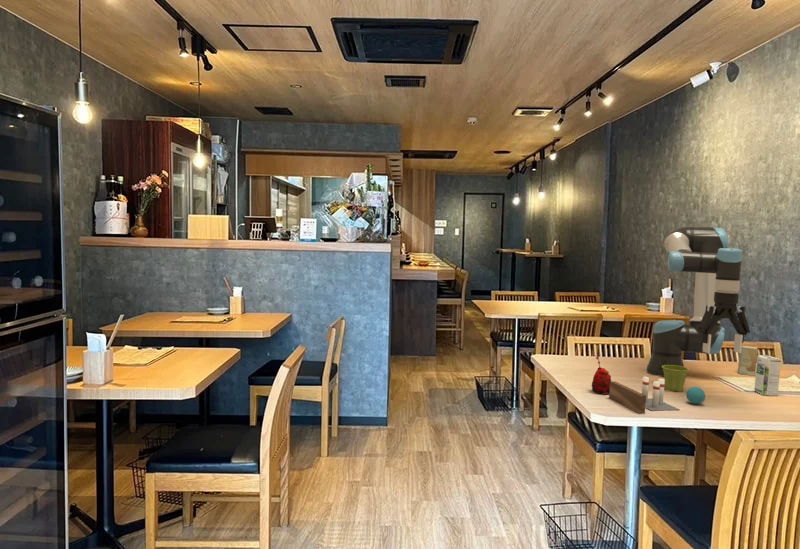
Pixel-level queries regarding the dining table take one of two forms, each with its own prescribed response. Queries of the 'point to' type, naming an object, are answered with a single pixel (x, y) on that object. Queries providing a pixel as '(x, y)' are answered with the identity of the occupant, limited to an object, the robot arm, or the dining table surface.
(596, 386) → the red clay folk toy
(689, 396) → the ball
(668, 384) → the plant pot
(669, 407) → the pin deck mark
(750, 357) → the skincare box
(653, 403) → the pin back left
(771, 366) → the syrup box
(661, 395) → the pin front
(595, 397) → the dining table surface
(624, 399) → the bar
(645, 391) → the pin back right
